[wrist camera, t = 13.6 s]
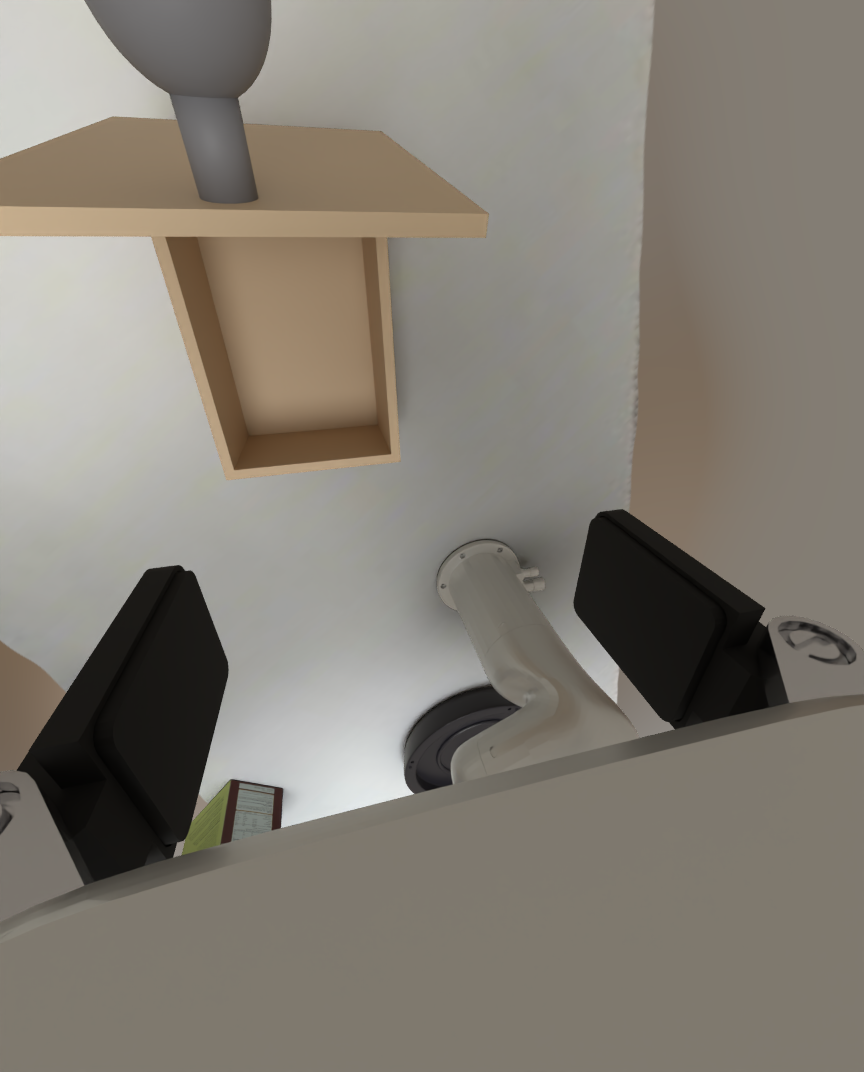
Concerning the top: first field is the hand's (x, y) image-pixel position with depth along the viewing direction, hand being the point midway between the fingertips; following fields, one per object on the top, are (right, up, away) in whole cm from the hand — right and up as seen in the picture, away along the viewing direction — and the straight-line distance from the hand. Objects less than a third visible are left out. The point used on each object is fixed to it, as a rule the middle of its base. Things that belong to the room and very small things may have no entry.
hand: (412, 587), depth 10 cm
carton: (-12, +21, +29) cm, 38 cm away
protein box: (-36, -49, +66) cm, 89 cm away
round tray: (+9, -38, +72) cm, 82 cm away
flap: (-8, +17, +8) cm, 20 cm away
